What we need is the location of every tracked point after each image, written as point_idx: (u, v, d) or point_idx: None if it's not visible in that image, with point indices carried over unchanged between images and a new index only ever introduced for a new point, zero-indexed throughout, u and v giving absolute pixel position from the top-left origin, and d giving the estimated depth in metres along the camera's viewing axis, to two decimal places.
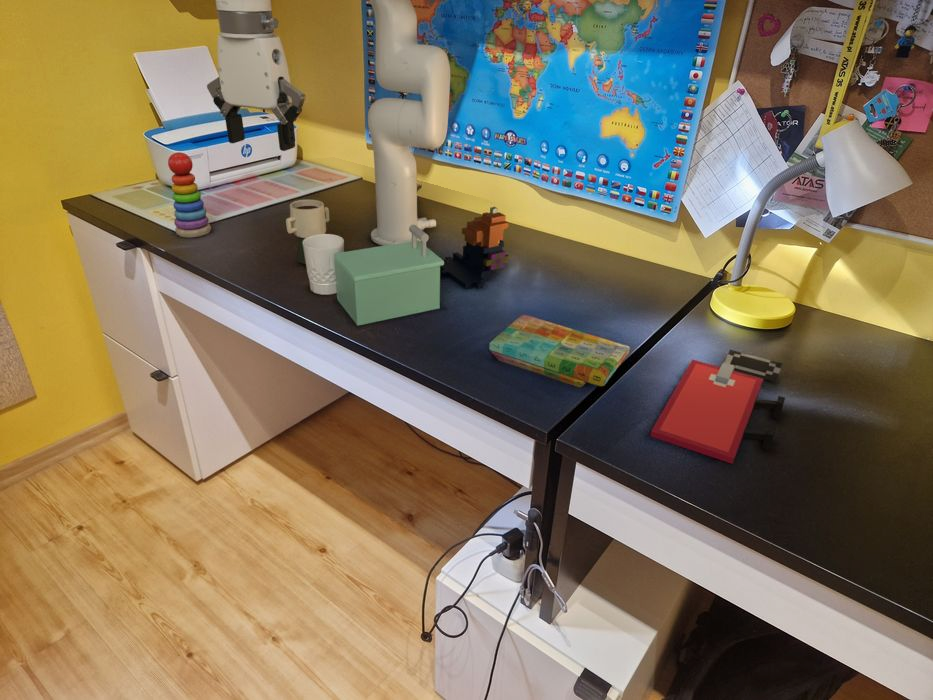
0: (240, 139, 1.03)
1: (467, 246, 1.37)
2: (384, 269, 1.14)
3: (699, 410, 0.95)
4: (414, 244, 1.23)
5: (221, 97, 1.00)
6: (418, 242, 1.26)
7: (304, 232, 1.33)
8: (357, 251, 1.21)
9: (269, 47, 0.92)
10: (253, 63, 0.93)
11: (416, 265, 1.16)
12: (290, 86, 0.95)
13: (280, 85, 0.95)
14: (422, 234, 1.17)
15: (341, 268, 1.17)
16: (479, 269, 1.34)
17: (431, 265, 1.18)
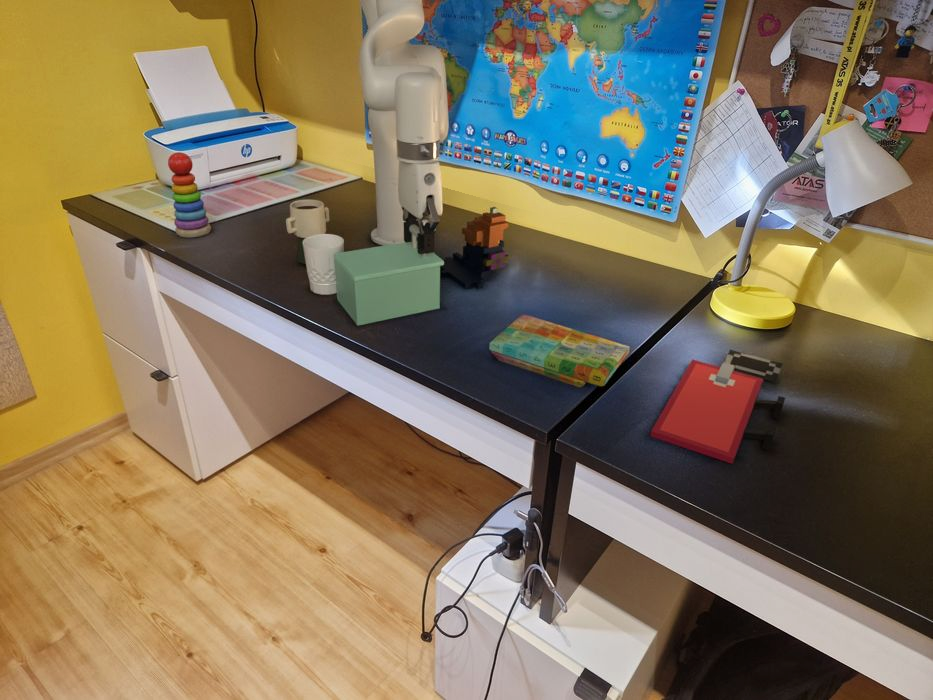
0: None
1: (467, 246, 1.37)
2: (384, 269, 1.14)
3: (699, 410, 0.95)
4: (414, 244, 1.23)
5: None
6: None
7: (304, 232, 1.33)
8: (357, 251, 1.21)
9: (423, 171, 1.09)
10: (411, 181, 1.12)
11: (416, 265, 1.16)
12: (432, 209, 1.12)
13: (427, 201, 1.12)
14: None
15: (341, 268, 1.17)
16: (479, 269, 1.34)
17: (431, 265, 1.18)
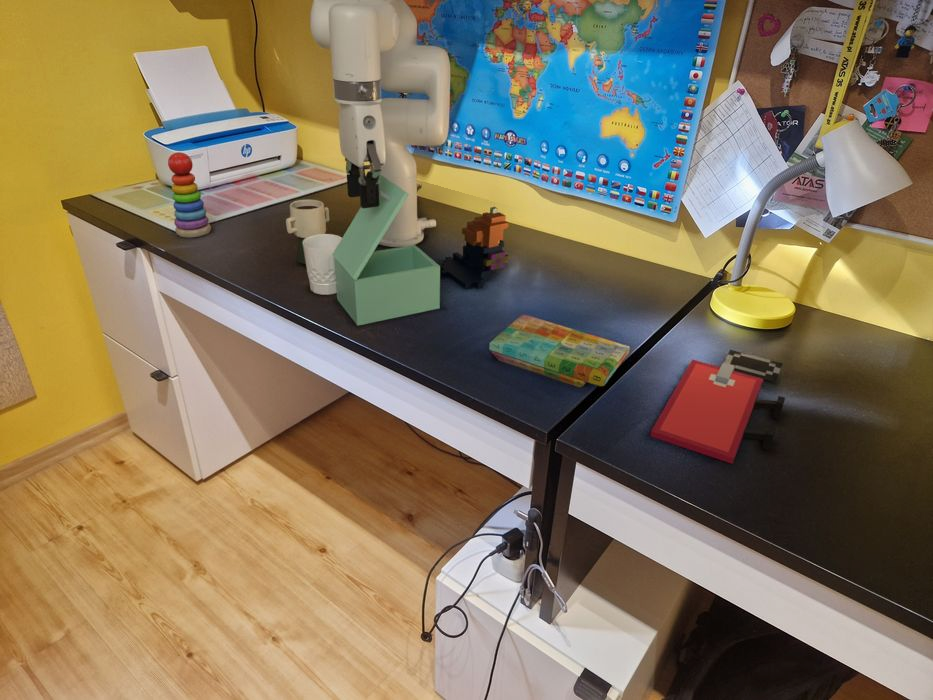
0: (359, 194, 1.14)
1: (467, 246, 1.37)
2: (368, 247, 1.11)
3: (699, 410, 0.95)
4: None
5: None
6: (381, 178, 1.16)
7: (304, 232, 1.33)
8: (345, 236, 1.18)
9: (361, 113, 1.00)
10: (350, 125, 1.02)
11: (388, 219, 1.09)
12: (373, 156, 1.02)
13: (368, 148, 1.02)
14: None
15: (341, 268, 1.17)
16: (479, 269, 1.34)
17: (399, 206, 1.09)
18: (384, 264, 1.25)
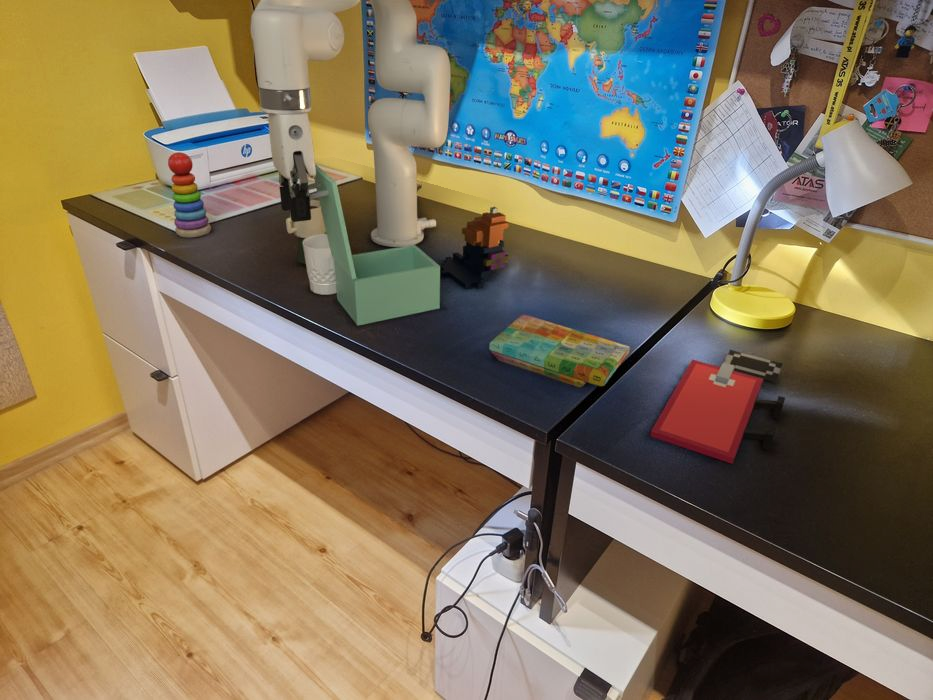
0: None
1: (467, 246, 1.37)
2: (343, 246, 1.09)
3: (699, 410, 0.95)
4: (315, 186, 1.08)
5: None
6: None
7: (304, 232, 1.33)
8: (328, 236, 1.17)
9: (286, 123, 0.96)
10: (276, 135, 0.98)
11: (338, 214, 1.05)
12: (300, 167, 0.98)
13: (295, 159, 0.98)
14: None
15: (341, 268, 1.17)
16: (479, 269, 1.34)
17: (337, 198, 1.03)
18: (384, 264, 1.25)
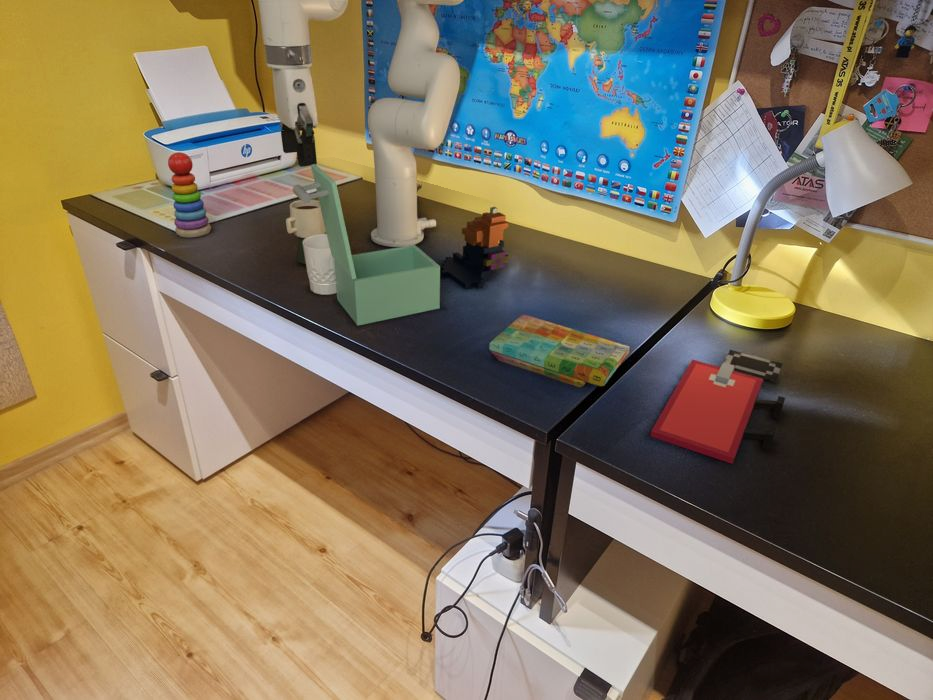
0: (294, 150, 1.20)
1: (467, 246, 1.37)
2: (343, 246, 1.09)
3: (699, 410, 0.95)
4: (315, 186, 1.08)
5: None
6: (313, 169, 1.09)
7: (304, 232, 1.33)
8: (328, 236, 1.17)
9: (291, 77, 1.05)
10: (281, 89, 1.08)
11: (337, 214, 1.05)
12: (304, 112, 1.07)
13: (299, 110, 1.08)
14: None
15: (341, 268, 1.17)
16: (479, 269, 1.34)
17: (337, 198, 1.03)
18: (384, 264, 1.25)
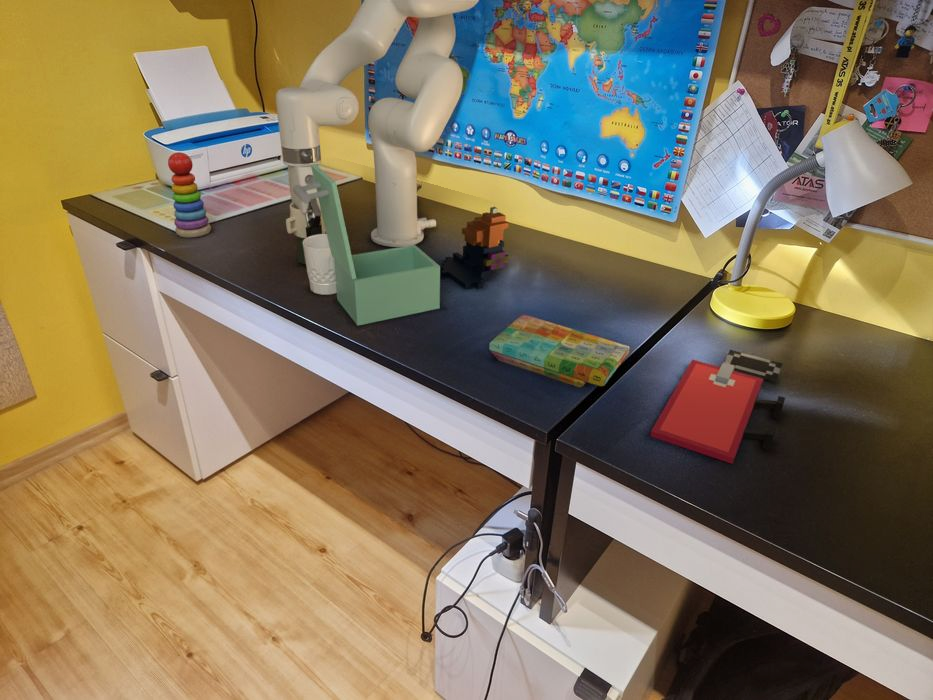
0: None
1: (467, 246, 1.37)
2: (343, 246, 1.09)
3: (699, 410, 0.95)
4: (315, 186, 1.08)
5: None
6: (313, 169, 1.09)
7: (304, 232, 1.33)
8: (328, 236, 1.17)
9: (303, 173, 1.25)
10: (295, 182, 1.28)
11: (337, 214, 1.05)
12: (313, 204, 1.27)
13: None
14: None
15: (341, 268, 1.17)
16: (479, 269, 1.34)
17: (337, 198, 1.03)
18: (384, 264, 1.25)
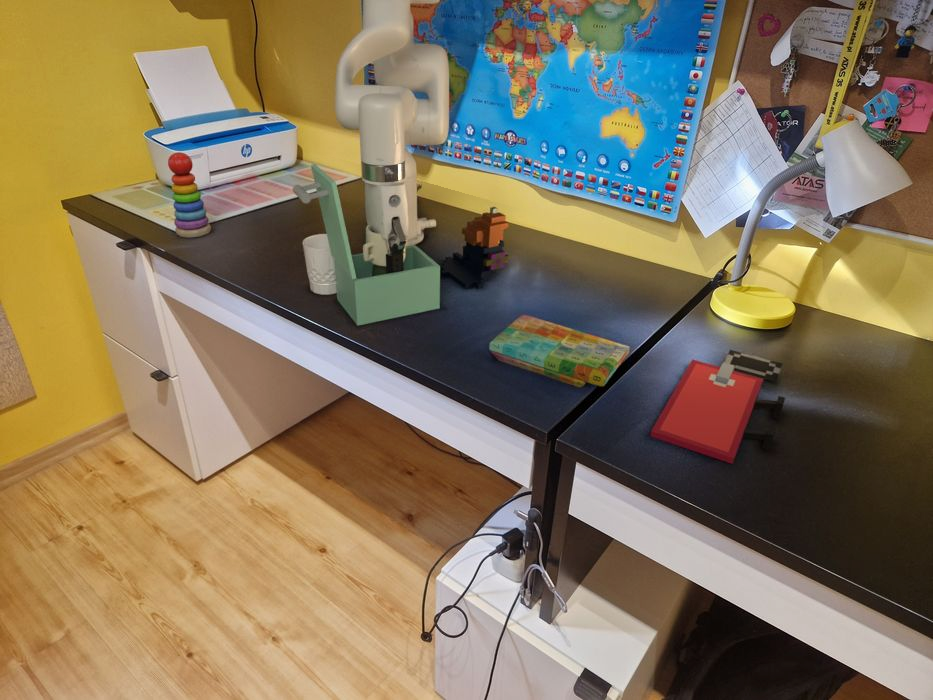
0: None
1: (467, 246, 1.37)
2: (343, 246, 1.09)
3: (699, 410, 0.95)
4: (315, 186, 1.08)
5: None
6: (313, 169, 1.09)
7: (382, 260, 1.16)
8: (328, 236, 1.17)
9: (387, 193, 1.08)
10: (376, 203, 1.11)
11: (337, 214, 1.05)
12: (398, 229, 1.10)
13: (393, 223, 1.11)
14: None
15: (341, 268, 1.17)
16: (479, 269, 1.34)
17: (337, 198, 1.03)
18: None
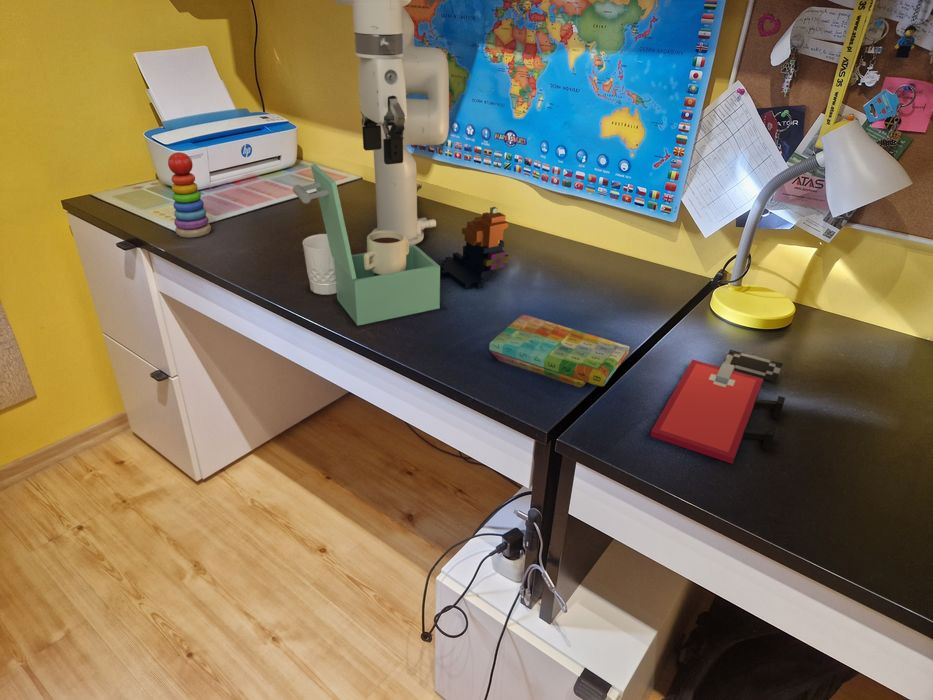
0: (375, 148, 1.13)
1: (467, 246, 1.37)
2: (343, 246, 1.09)
3: (699, 410, 0.95)
4: (315, 186, 1.08)
5: None
6: (313, 169, 1.09)
7: (383, 268, 1.16)
8: (328, 236, 1.17)
9: (383, 68, 0.98)
10: (371, 81, 1.00)
11: (337, 214, 1.05)
12: (395, 105, 1.00)
13: (389, 103, 1.00)
14: None
15: (341, 268, 1.17)
16: (479, 269, 1.34)
17: (337, 198, 1.03)
18: None
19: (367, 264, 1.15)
